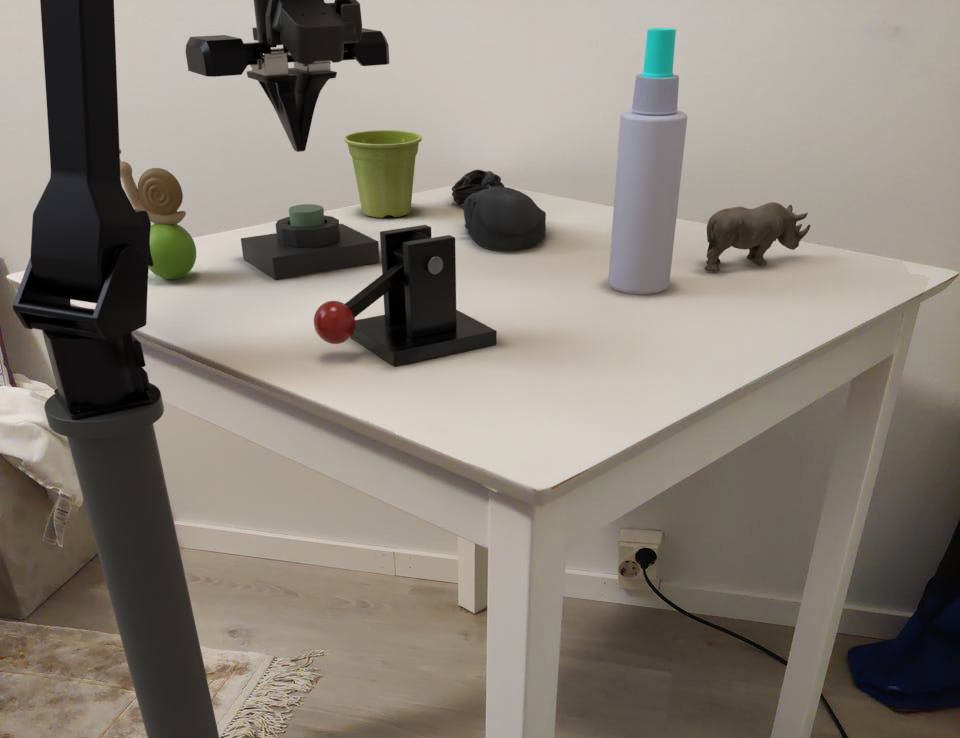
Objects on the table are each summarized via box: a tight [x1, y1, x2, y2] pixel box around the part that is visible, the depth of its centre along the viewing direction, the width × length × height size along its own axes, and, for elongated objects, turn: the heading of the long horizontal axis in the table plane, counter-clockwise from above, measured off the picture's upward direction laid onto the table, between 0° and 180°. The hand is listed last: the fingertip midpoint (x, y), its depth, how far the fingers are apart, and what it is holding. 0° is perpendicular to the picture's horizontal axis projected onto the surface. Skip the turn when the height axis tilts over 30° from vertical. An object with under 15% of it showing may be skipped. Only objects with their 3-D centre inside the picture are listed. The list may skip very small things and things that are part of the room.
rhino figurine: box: [703, 201, 811, 273], centre depth 104 cm, size 4×14×6 cm, turn 114°
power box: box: [240, 214, 381, 281], centre depth 105 cm, size 12×9×4 cm
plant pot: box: [343, 129, 423, 219], centre depth 121 cm, size 9×9×9 cm
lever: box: [313, 232, 432, 345], centre depth 82 cm, size 12×3×3 cm, turn 122°
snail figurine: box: [119, 148, 197, 280], centre depth 98 cm, size 5×6×12 cm
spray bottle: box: [608, 27, 688, 295], centre depth 92 cm, size 6×6×22 cm
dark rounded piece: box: [451, 169, 547, 251], centre depth 120 cm, size 10×32×6 cm, turn 8°
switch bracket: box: [350, 224, 498, 367], centre depth 84 cm, size 10×9×9 cm
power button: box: [288, 203, 325, 227], centre depth 104 cm, size 4×4×2 cm
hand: (299, 150), depth 99 cm, fingers closed
